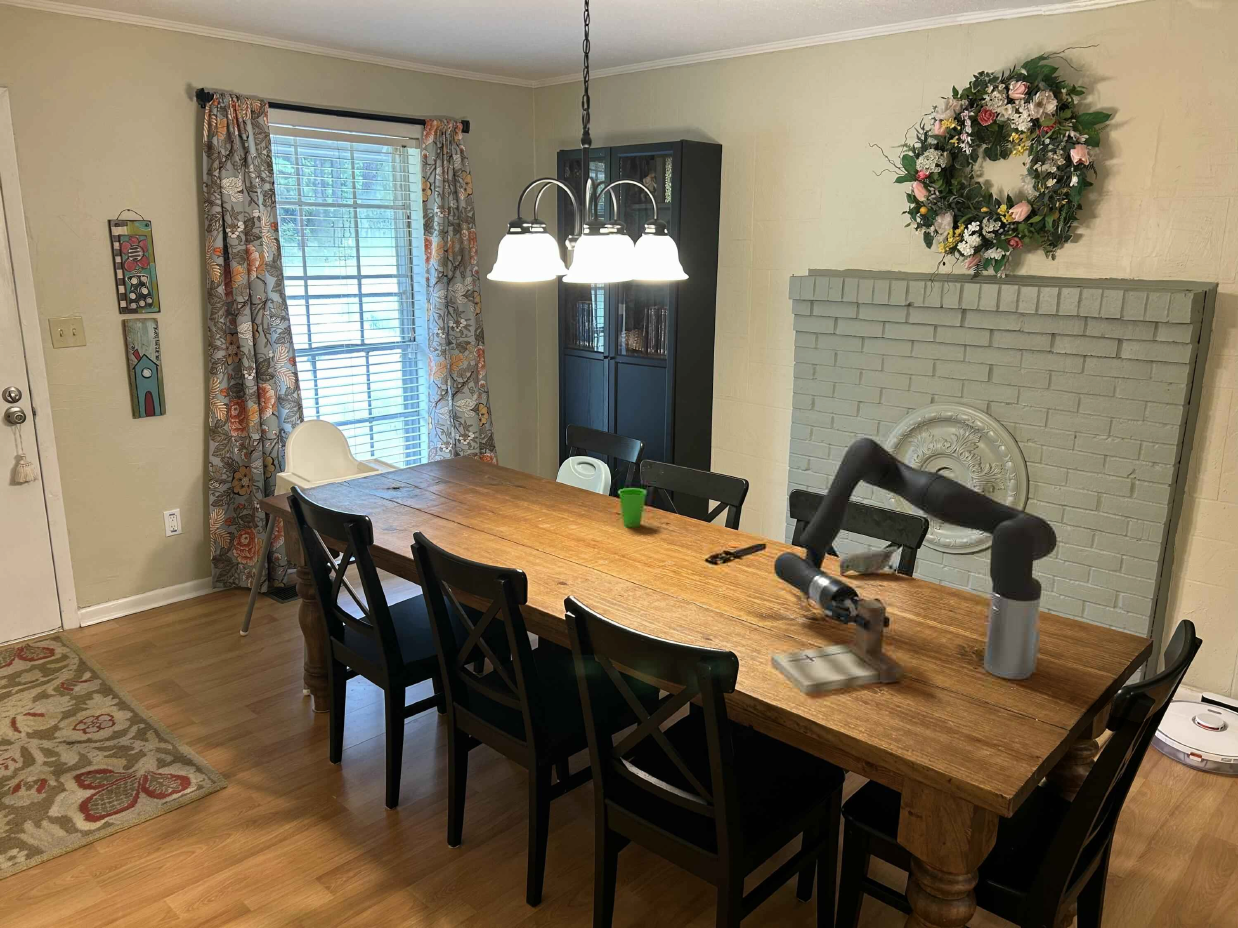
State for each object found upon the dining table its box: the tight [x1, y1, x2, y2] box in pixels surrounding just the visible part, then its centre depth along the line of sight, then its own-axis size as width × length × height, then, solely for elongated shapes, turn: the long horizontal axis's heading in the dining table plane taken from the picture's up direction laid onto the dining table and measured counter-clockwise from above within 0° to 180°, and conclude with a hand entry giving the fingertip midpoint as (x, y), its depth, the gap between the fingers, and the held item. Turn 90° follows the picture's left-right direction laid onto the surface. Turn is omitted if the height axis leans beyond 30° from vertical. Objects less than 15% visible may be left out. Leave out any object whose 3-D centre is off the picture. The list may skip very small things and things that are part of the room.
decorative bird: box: [839, 546, 898, 576], centre depth 247 cm, size 5×16×8 cm, turn 99°
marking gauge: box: [851, 598, 903, 684], centre depth 189 cm, size 4×12×13 cm, turn 19°
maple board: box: [770, 642, 881, 695], centre depth 190 cm, size 22×14×2 cm, turn 109°
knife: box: [704, 542, 767, 566], centre depth 262 cm, size 25×6×1 cm, turn 127°
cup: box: [617, 487, 648, 528], centre depth 287 cm, size 9×9×11 cm
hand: (878, 624), depth 188 cm, fingers closed on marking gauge, 4 cm apart
